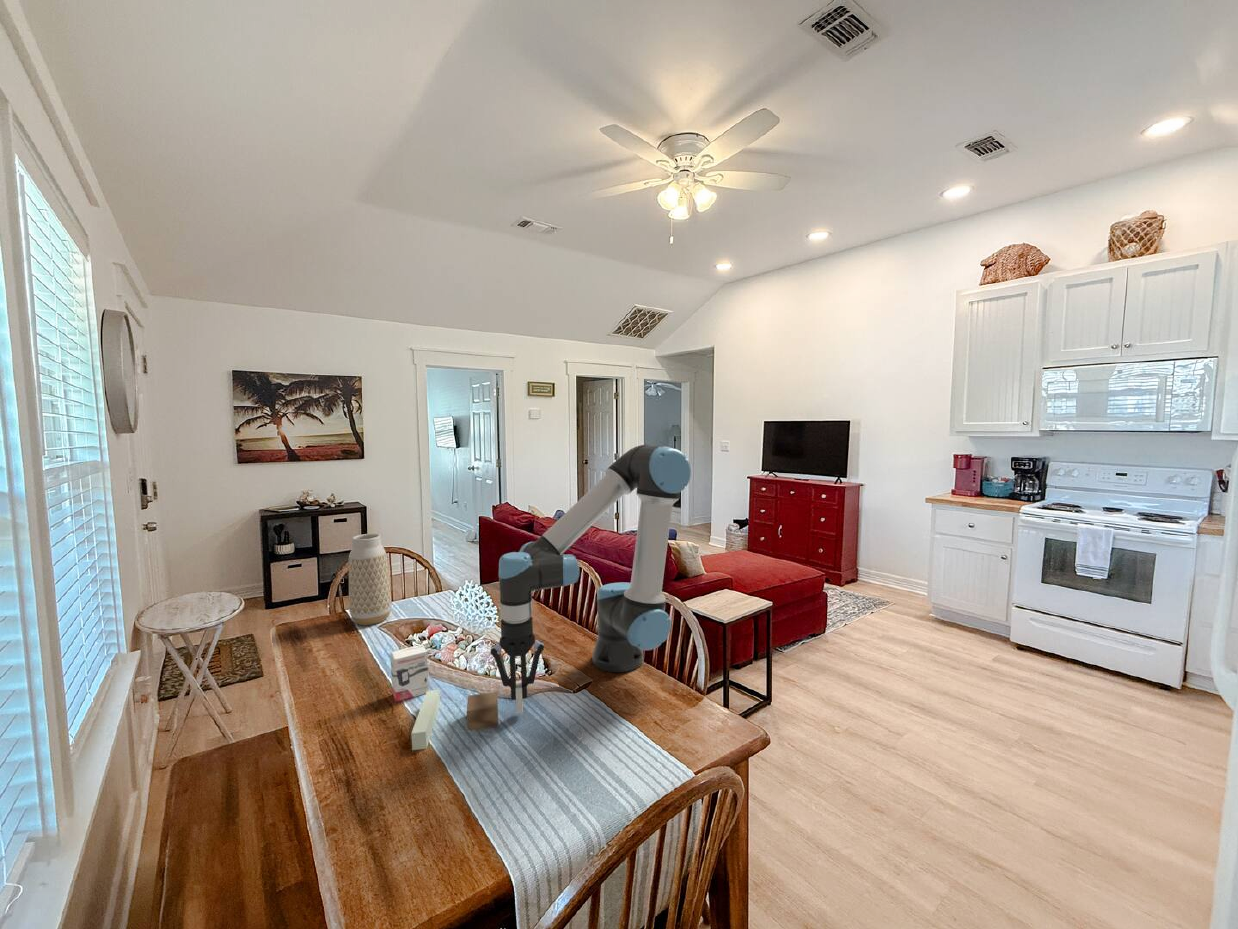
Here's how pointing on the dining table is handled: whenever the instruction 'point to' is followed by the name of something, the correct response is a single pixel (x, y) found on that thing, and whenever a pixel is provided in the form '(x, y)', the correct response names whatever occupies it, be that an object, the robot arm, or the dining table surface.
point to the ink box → (409, 672)
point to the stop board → (425, 720)
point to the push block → (482, 711)
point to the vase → (368, 580)
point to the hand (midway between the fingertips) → (519, 710)
